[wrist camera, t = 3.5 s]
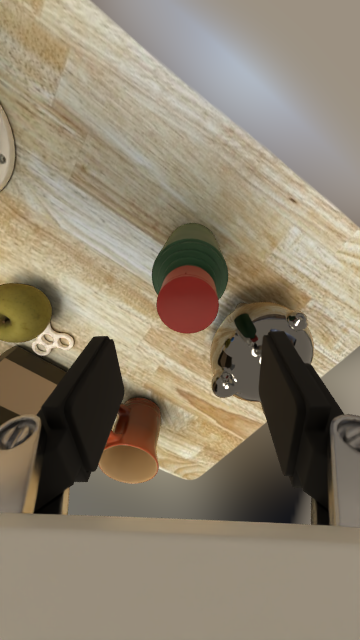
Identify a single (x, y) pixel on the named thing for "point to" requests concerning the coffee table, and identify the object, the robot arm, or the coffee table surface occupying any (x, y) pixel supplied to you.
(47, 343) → the fidget spinner
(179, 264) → the sauce bottle
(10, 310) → the apple
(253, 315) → the piggy bank
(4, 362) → the bottle
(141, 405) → the mug
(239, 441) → the coffee table surface
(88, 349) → the robot arm
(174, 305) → the cap
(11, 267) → the coffee table surface
